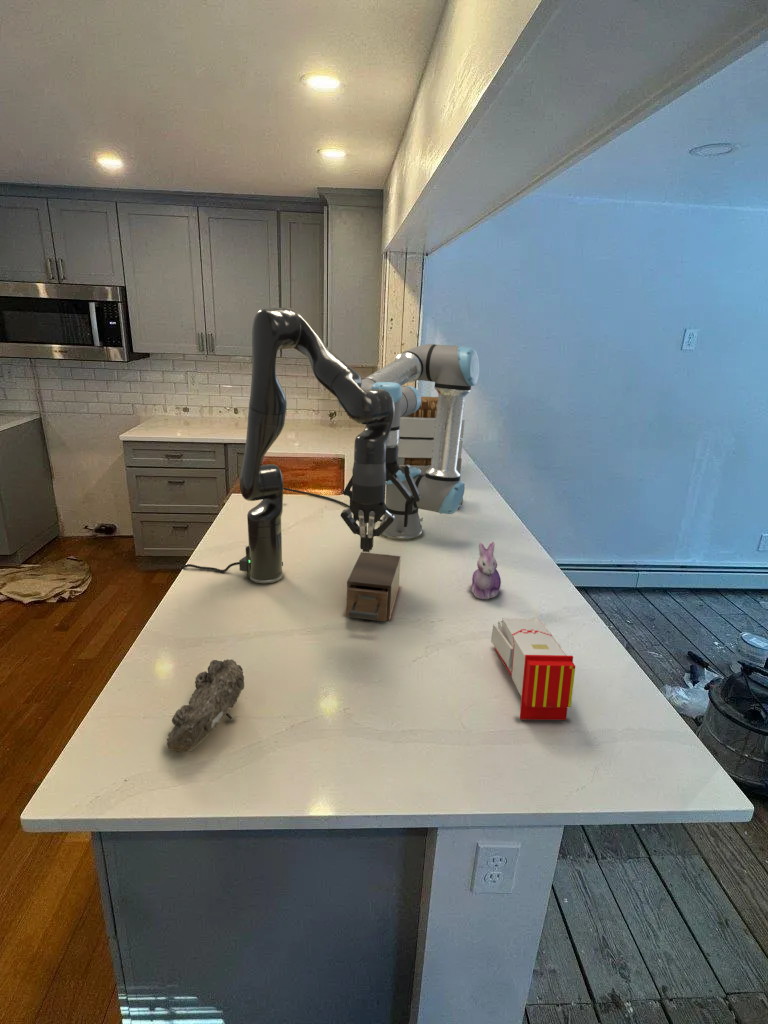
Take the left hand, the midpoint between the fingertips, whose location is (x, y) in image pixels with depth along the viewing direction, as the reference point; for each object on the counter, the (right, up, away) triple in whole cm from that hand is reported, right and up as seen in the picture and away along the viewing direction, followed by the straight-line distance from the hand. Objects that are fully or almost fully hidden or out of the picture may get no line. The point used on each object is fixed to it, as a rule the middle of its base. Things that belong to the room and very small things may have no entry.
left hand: (366, 550), depth 133 cm
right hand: (+3, +6, +18) cm, 19 cm away
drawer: (0, -16, +15) cm, 22 cm away
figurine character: (+32, +12, +99) cm, 105 cm away
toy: (+35, -27, -9) cm, 45 cm away
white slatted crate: (+21, +28, +142) cm, 146 cm away
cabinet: (+1, -15, +21) cm, 26 cm away
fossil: (-29, -30, -25) cm, 48 cm away
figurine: (+33, -14, +28) cm, 45 cm away
